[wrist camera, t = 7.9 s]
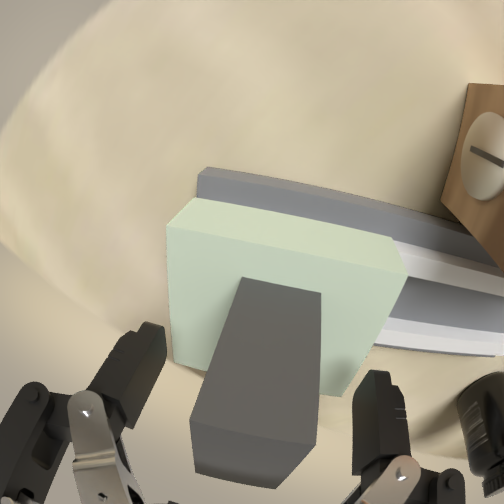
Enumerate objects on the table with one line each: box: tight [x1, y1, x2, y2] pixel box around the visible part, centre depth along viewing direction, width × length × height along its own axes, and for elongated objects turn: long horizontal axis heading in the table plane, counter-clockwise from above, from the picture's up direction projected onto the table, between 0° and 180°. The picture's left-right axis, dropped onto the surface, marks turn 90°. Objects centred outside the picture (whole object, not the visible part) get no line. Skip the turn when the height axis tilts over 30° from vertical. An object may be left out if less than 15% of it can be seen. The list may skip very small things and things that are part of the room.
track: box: [197, 167, 504, 357], centre depth 16 cm, size 24×9×3 cm, turn 83°
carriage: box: [166, 197, 408, 489], centre depth 11 cm, size 9×8×9 cm
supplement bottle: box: [457, 372, 504, 498], centre depth 16 cm, size 7×7×12 cm
